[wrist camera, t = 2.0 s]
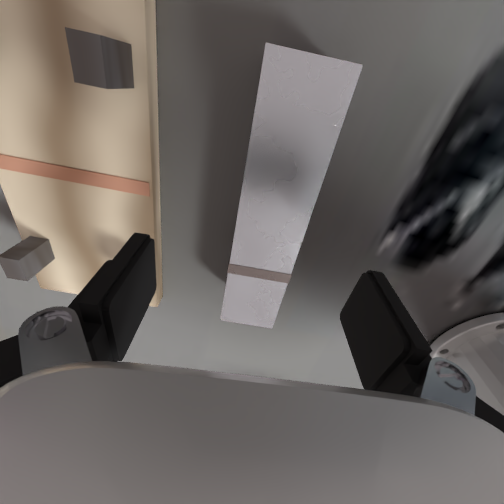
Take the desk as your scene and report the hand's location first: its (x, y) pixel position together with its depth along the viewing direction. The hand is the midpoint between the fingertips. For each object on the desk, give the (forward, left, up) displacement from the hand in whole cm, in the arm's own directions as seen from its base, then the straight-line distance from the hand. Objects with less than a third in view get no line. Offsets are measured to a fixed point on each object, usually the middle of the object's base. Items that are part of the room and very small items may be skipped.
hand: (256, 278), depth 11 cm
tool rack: (+13, 0, -10) cm, 16 cm away
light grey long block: (-1, 0, -10) cm, 10 cm away
